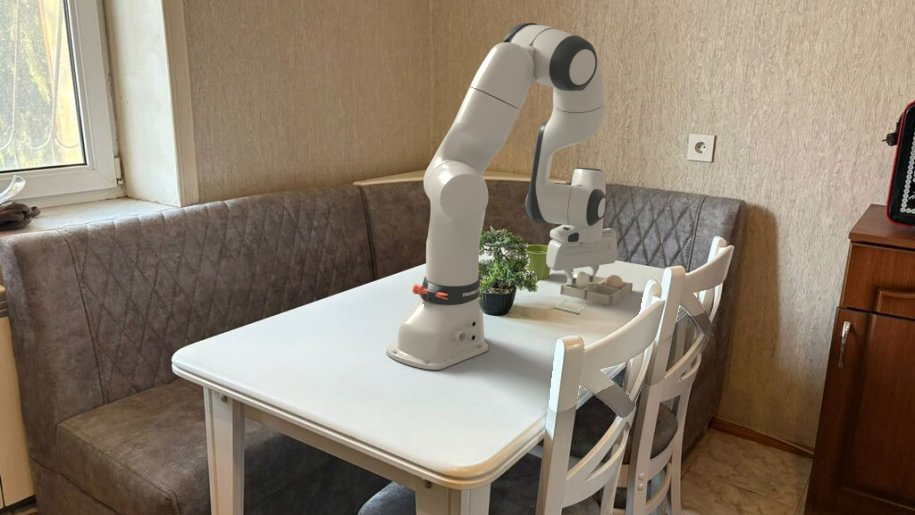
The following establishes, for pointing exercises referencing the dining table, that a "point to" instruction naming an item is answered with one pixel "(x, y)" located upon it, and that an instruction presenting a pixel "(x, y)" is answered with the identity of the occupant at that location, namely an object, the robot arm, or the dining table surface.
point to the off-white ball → (581, 280)
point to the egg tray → (598, 291)
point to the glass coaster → (569, 309)
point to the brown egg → (614, 282)
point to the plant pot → (538, 261)
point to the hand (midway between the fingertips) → (580, 282)
